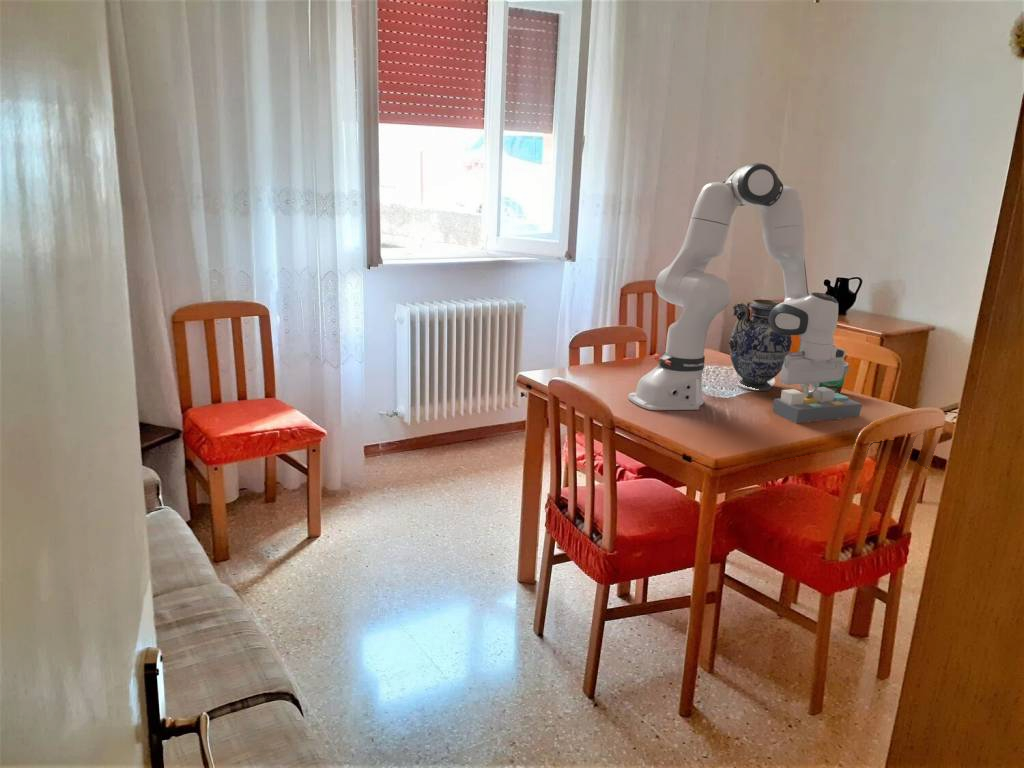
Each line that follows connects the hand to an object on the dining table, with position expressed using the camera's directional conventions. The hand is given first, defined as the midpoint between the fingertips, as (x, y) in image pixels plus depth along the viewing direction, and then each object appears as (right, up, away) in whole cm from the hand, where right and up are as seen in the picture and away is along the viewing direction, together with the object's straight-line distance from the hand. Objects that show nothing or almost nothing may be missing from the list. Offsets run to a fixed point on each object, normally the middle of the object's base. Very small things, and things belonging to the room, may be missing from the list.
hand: (807, 396), depth 217 cm
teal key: (+10, -3, +5) cm, 11 cm away
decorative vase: (-7, +3, +26) cm, 27 cm away
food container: (+15, 0, +21) cm, 26 cm away
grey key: (+5, -1, +2) cm, 5 cm away
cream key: (-6, -2, -2) cm, 6 cm away
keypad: (+3, -5, +1) cm, 6 cm away
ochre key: (0, -3, +1) cm, 4 cm away
